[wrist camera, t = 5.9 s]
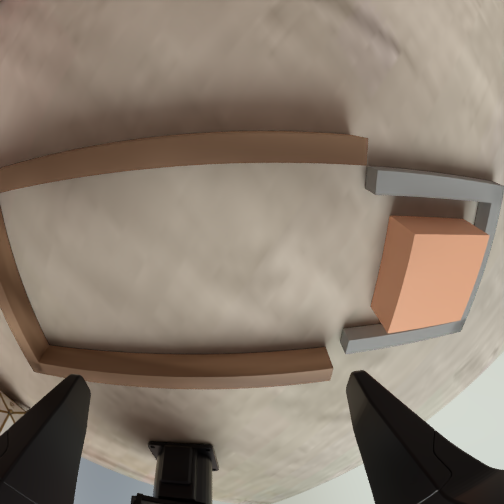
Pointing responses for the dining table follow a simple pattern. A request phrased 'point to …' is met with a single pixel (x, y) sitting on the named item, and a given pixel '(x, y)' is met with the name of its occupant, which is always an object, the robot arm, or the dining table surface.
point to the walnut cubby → (156, 156)
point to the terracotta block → (427, 271)
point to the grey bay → (431, 187)
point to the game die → (8, 412)
